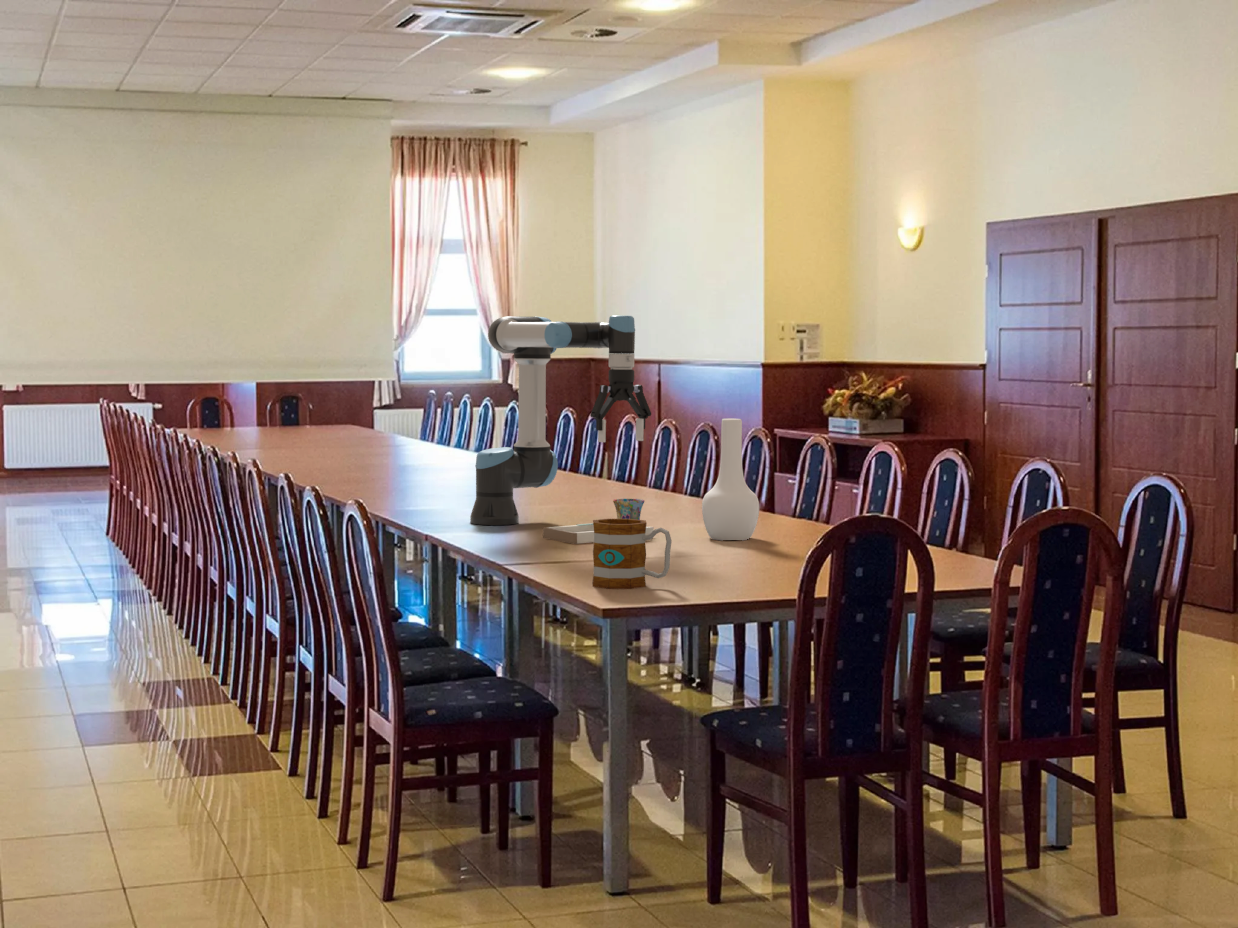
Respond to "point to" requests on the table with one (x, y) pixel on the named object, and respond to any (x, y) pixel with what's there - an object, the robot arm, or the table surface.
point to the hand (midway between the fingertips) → (620, 441)
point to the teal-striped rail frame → (575, 533)
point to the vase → (730, 491)
